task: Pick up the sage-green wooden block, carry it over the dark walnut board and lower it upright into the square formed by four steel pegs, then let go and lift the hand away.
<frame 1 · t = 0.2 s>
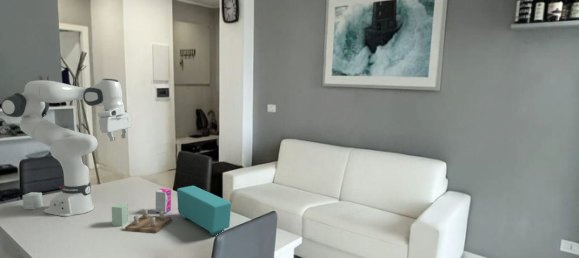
hand: (118, 139, 174), 38 cm above the table, tool pointing down, fingers open, 8 cm apart
sage block: (120, 223, 166), on the table
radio: (203, 225, 168), on the table
peg board: (149, 225, 166), on the table
skincare box: (33, 207, 184), on the table
supplement box: (163, 211, 184), on the table
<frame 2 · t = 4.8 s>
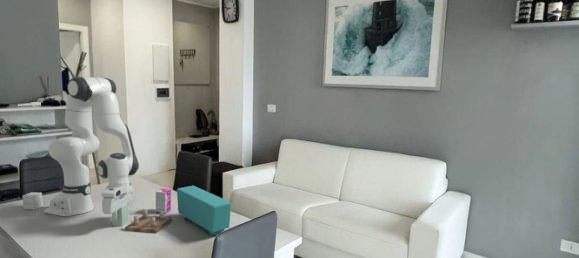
hand: (120, 216, 166), 4 cm above the table, tool pointing down, fingers closed on sage block, 5 cm apart
sage block: (120, 223, 166), on the table, touching gripper
everything else where it was.
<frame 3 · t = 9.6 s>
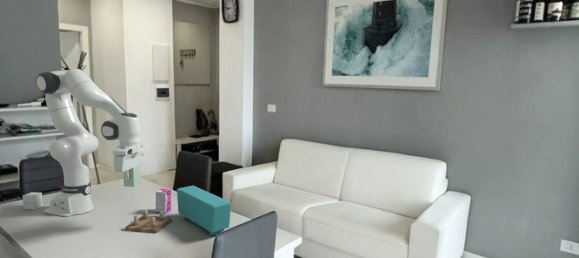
hand: (131, 177, 163), 23 cm above the table, tool pointing down, fingers closed on sage block, 5 cm apart
sage block: (132, 185, 163), point 19 cm above the table, touching gripper
everything else where it was.
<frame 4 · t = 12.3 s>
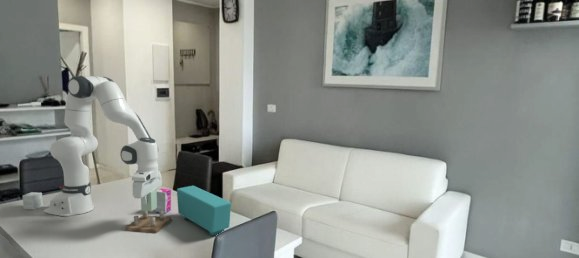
hand: (148, 201, 164), 12 cm above the table, tool pointing down, fingers closed on sage block, 5 cm apart
sage block: (149, 208, 165), point 8 cm above the table, touching gripper
everything else where it was.
when the fingers open (6 cm above the table, at t = 14.6 s): sage block stays where it is, resting on peg board.
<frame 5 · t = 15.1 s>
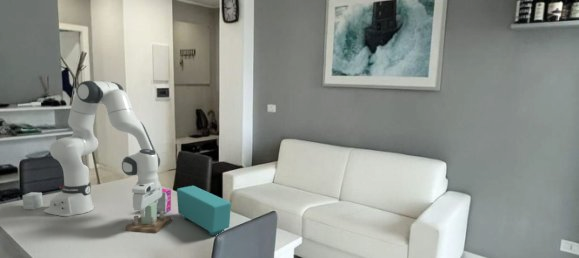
hand: (149, 212, 165), 6 cm above the table, tool pointing down, fingers open, 8 cm apart
sage block: (149, 222, 166), point 1 cm above the table, touching peg board
everything else where it was.
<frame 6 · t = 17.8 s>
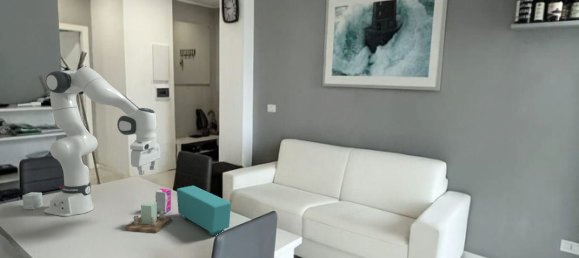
hand: (146, 172, 165), 25 cm above the table, tool pointing down, fingers open, 8 cm apart
nothing on the table moved.
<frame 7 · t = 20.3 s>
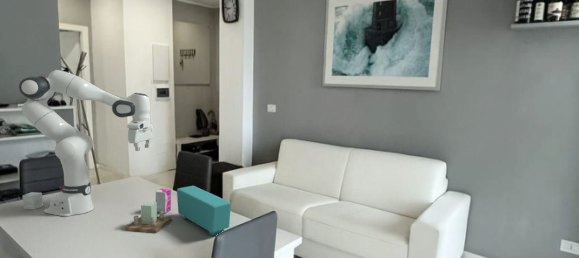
hand: (142, 149, 188), 31 cm above the table, tool pointing down, fingers open, 8 cm apart
nothing on the table moved.
at the end: sage block 0.0 cm off-centre on the peg board, point 1.5 cm above the peg board's base; sage block tilted 0°; the gripper is holding nothing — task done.
